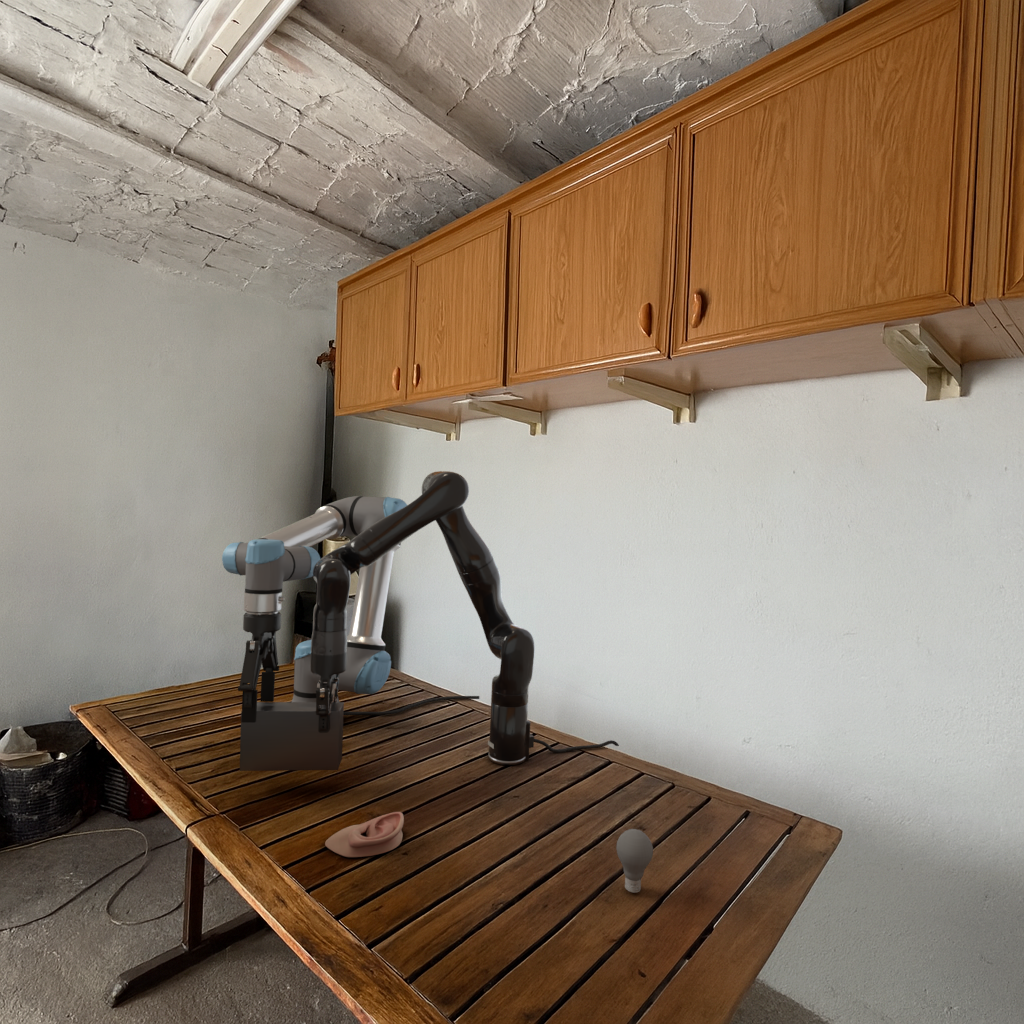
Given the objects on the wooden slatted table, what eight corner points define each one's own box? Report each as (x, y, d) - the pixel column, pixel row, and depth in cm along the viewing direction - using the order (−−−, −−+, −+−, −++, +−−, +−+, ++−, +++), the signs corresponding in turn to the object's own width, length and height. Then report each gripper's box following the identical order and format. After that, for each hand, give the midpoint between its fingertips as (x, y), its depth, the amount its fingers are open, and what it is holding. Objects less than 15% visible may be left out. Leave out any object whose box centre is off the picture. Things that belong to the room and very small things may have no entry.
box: (239, 771, 133) (241, 711, 132) (248, 759, 138) (249, 702, 138) (337, 770, 135) (339, 711, 135) (342, 758, 141) (343, 702, 140)
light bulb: (610, 879, 108) (613, 822, 108) (644, 879, 109) (647, 822, 109) (619, 902, 102) (622, 840, 102) (655, 901, 103) (658, 840, 103)
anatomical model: (317, 830, 113) (346, 800, 124) (316, 852, 113) (345, 821, 124) (387, 841, 110) (410, 810, 121) (386, 864, 110) (410, 831, 121)
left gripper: (264, 623, 123) (259, 732, 123) (294, 603, 148) (290, 693, 148) (224, 622, 122) (219, 731, 122) (261, 602, 147) (257, 693, 147)
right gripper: (341, 658, 130) (339, 739, 130) (351, 642, 144) (349, 715, 145) (304, 657, 129) (301, 739, 130) (317, 641, 144) (315, 715, 144)
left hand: (258, 711), depth 135 cm, fingers open, 13 cm apart
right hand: (326, 726), depth 137 cm, fingers closed on box, 6 cm apart
